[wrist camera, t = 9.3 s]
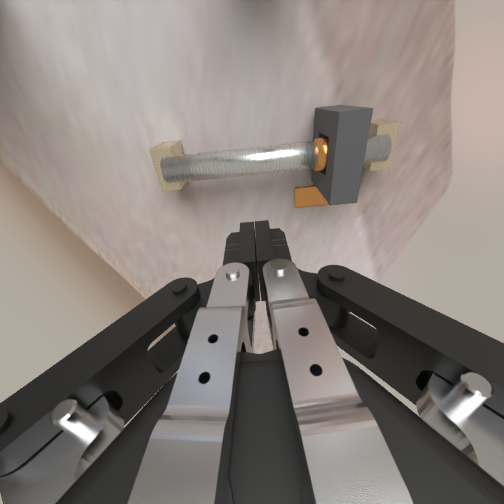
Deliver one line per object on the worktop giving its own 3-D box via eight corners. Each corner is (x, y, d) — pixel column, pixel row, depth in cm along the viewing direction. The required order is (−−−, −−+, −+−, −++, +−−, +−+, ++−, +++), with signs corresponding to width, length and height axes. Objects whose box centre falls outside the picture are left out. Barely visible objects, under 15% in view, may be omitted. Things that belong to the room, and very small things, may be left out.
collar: (311, 180, 33) (329, 205, 26) (315, 107, 28) (339, 111, 21) (332, 178, 33) (356, 202, 25) (340, 105, 28) (373, 108, 20)
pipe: (184, 217, 37) (172, 238, 31) (162, 142, 30) (143, 152, 25) (363, 200, 35) (385, 219, 30) (379, 118, 29) (410, 123, 24)
